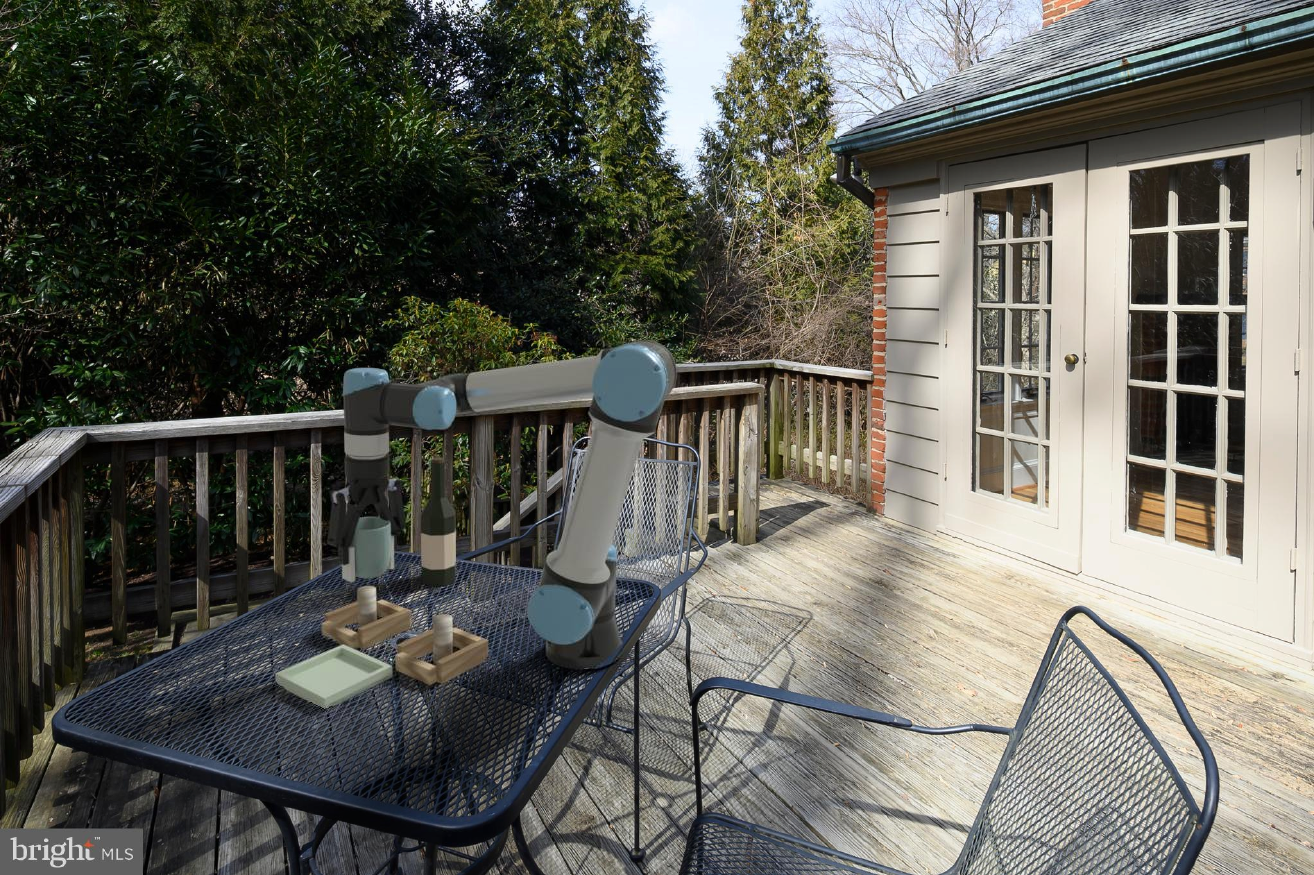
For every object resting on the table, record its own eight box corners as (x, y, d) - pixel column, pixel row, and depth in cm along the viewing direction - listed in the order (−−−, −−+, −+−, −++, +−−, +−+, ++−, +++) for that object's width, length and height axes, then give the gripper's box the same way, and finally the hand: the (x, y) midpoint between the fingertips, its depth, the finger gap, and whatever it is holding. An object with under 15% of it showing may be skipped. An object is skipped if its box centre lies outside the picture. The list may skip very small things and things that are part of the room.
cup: (337, 576, 146) (335, 524, 144) (368, 563, 153) (367, 514, 151) (369, 585, 143) (368, 533, 141) (399, 572, 150) (399, 521, 148)
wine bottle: (447, 588, 187) (446, 464, 180) (414, 584, 188) (412, 461, 182) (462, 575, 195) (462, 456, 188) (431, 571, 196) (429, 453, 190)
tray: (392, 677, 146) (392, 666, 146) (325, 710, 135) (324, 698, 134) (343, 654, 153) (343, 644, 153) (275, 684, 142) (275, 673, 141)
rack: (493, 656, 156) (493, 613, 154) (435, 687, 143) (434, 641, 141) (378, 610, 173) (377, 571, 171) (317, 635, 161) (315, 593, 159)
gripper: (400, 442, 154) (401, 553, 159) (301, 459, 137) (305, 583, 142) (426, 449, 150) (426, 563, 155) (327, 468, 133) (331, 595, 138)
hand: (368, 573), depth 148 cm, fingers closed on cup, 8 cm apart
